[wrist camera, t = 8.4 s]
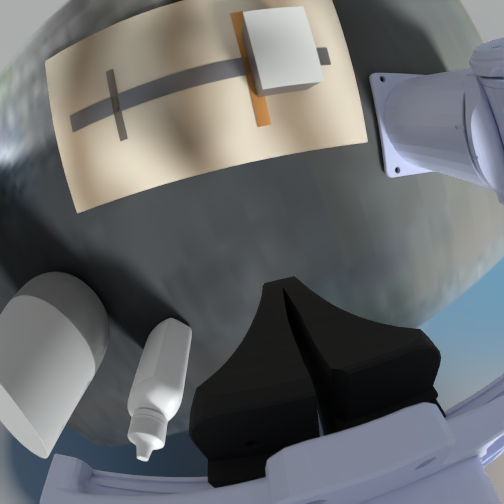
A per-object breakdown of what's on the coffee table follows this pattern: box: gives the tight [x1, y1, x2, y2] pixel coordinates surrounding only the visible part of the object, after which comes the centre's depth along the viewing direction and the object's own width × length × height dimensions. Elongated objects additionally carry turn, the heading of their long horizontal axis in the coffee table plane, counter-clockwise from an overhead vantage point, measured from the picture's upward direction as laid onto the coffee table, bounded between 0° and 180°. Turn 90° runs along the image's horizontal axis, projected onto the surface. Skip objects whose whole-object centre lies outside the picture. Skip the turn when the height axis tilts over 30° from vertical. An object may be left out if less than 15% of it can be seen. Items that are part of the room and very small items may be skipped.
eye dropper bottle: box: [128, 318, 192, 461], centre depth 18 cm, size 4×6×12 cm
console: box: [45, 0, 368, 213], centre depth 15 cm, size 20×12×2 cm, turn 102°
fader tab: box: [242, 6, 325, 97], centre depth 12 cm, size 3×4×3 cm
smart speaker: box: [0, 272, 109, 458], centre depth 15 cm, size 10×9×14 cm
